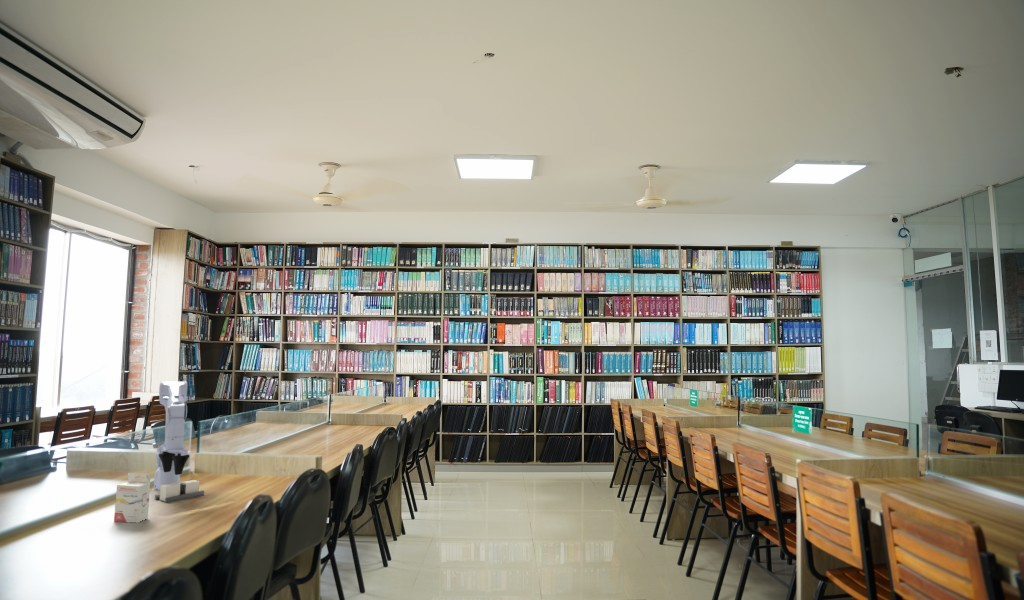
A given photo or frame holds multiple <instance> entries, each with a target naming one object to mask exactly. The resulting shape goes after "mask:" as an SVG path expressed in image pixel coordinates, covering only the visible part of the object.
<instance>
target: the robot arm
mask: <svg viewBox="0 0 1024 600" xmlns="http://www.w3.org/2000/svg"><path fill="white" fill-rule="evenodd" d="M158 390H159V391H158V396H159V397H158V400H159V404H160V405H162V406H163V407H164V411H165V429H164V430H165V431H164V433H165V434H164V438H165V439H164V443H163V444H161V445H159V446H158V447H157V449H156V456H155V467H156V468H157V469H156V470H155V472H154V475H153V477H154V479H153V488H152V489H151V488H150V489H151V491H152V490H157V491H160V486H161V485H166V484H171V483H177V484H180V482H181V481H180V480H181V479H180V478H181V475H182V474H183V472H184V467H185V465H186V463H187V461H188V459H189V458H190V454H188V452H189V449H186V447H185V445H184V441H185V440H184V438H185V426H186V425H185V423H186V419H187V417H188V415H187V414H188V406H187V403H186V399H187V394H188V381H186V380H185V381H161V382H160V383H159V389H158Z"/></svg>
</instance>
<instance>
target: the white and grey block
mask: <svg viewBox="0 0 1024 600" xmlns="http://www.w3.org/2000/svg"><path fill="white" fill-rule="evenodd" d="M200 482H201V481H200V480H196V479H190V480H184V481H180V482H179V484H180V485H181V495H182V494H187V493H192V492H197V491H200Z"/></svg>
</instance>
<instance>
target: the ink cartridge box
mask: <svg viewBox="0 0 1024 600" xmlns="http://www.w3.org/2000/svg"><path fill="white" fill-rule="evenodd" d="M138 477H140V478H138ZM150 481H151V475H150V473H142V472H140V473H139V472H128V473H127V481H125V482H123V483H119V484H117V485H116V493H115V504H114V516H113V517H114V518H113V521H114V522H115V523H116V522H117V523H130V522H136V523H135V524H138V523H140V521H141V522H143V521H145V519H146V520H147V518H148V519H149V506H150V492H151V491H150V489H151V482H150ZM142 520H143V521H142Z"/></svg>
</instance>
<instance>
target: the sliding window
mask: <svg viewBox="0 0 1024 600" xmlns="http://www.w3.org/2000/svg"><path fill="white" fill-rule="evenodd" d="M202 496H205V490H199V491H197V492H192V493H187V494H182V495H177V496H172V497H167V498H165V501H163V500H160V493H159V494H155V495H154V498H153V500H155V501H159V502H162V503H166V504H168V503H169V504H170V503H173V502H178V501H183V500H187V499H193V498H197V497H198V498H199V497H202Z"/></svg>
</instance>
